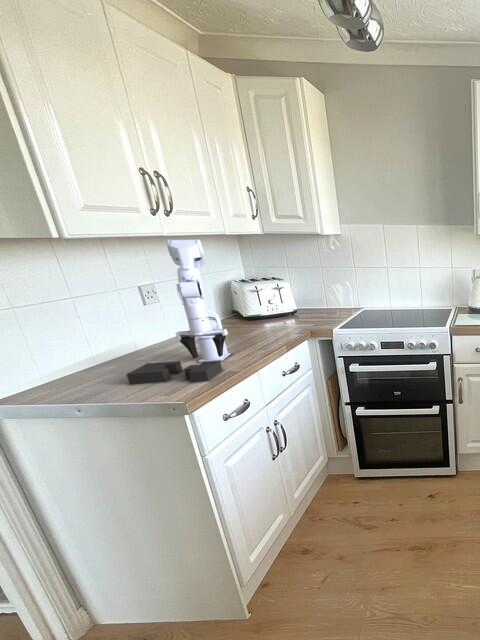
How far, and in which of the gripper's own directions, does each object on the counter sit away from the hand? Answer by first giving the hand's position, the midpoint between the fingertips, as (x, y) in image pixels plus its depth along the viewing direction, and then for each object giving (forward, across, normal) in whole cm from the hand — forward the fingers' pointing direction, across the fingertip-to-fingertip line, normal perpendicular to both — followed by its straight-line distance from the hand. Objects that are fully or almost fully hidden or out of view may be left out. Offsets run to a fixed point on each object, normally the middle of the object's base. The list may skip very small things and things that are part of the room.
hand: (208, 356), depth 143 cm
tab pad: (+6, -1, -4) cm, 7 cm away
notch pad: (+6, -16, -1) cm, 17 cm away
